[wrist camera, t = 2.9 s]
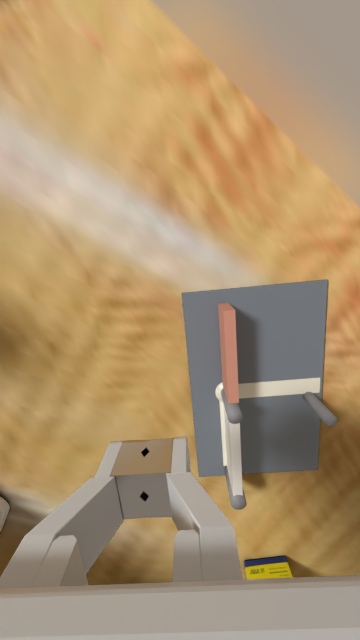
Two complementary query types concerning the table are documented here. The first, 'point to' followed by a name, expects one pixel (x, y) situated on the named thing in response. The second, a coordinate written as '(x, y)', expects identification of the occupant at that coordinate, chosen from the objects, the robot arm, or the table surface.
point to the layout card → (259, 374)
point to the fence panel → (228, 351)
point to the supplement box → (268, 568)
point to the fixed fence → (234, 444)
